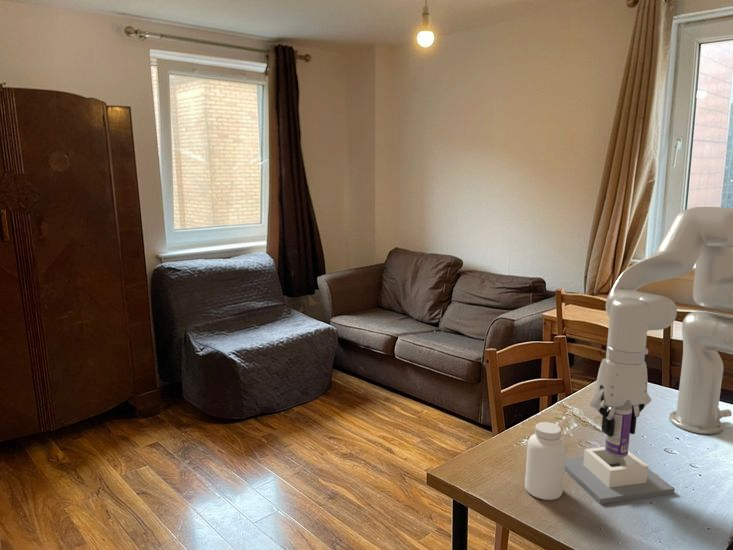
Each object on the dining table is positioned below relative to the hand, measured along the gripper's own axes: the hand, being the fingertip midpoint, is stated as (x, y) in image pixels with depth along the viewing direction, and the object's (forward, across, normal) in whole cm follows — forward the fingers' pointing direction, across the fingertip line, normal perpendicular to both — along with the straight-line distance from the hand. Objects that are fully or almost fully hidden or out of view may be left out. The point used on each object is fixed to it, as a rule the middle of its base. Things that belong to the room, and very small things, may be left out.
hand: (618, 431), depth 122 cm
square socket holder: (+11, 0, 0) cm, 11 cm away
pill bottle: (+12, +18, +1) cm, 22 cm away
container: (+5, 0, 0) cm, 5 cm away
